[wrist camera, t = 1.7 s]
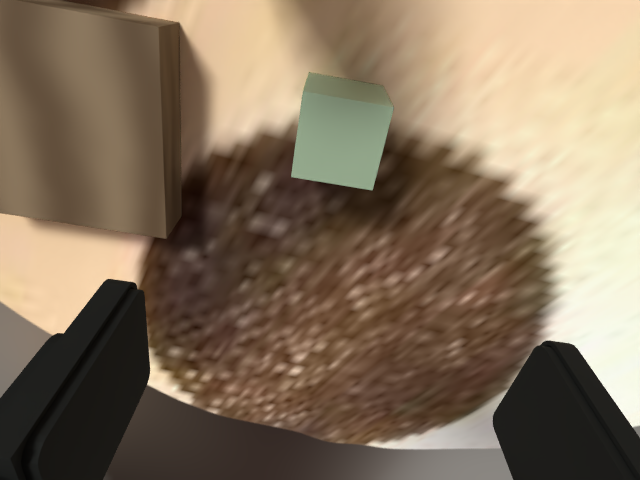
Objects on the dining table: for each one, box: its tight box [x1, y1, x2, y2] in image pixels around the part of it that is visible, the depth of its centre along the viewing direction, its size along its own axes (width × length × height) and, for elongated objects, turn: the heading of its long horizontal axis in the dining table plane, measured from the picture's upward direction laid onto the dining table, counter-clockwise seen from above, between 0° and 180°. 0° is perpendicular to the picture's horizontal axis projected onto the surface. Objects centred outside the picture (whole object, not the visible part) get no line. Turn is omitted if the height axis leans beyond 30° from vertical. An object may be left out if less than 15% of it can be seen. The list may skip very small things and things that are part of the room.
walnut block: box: [0, 0, 182, 239], centre depth 27 cm, size 14×14×4 cm
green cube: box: [291, 72, 394, 190], centre depth 26 cm, size 5×5×6 cm
